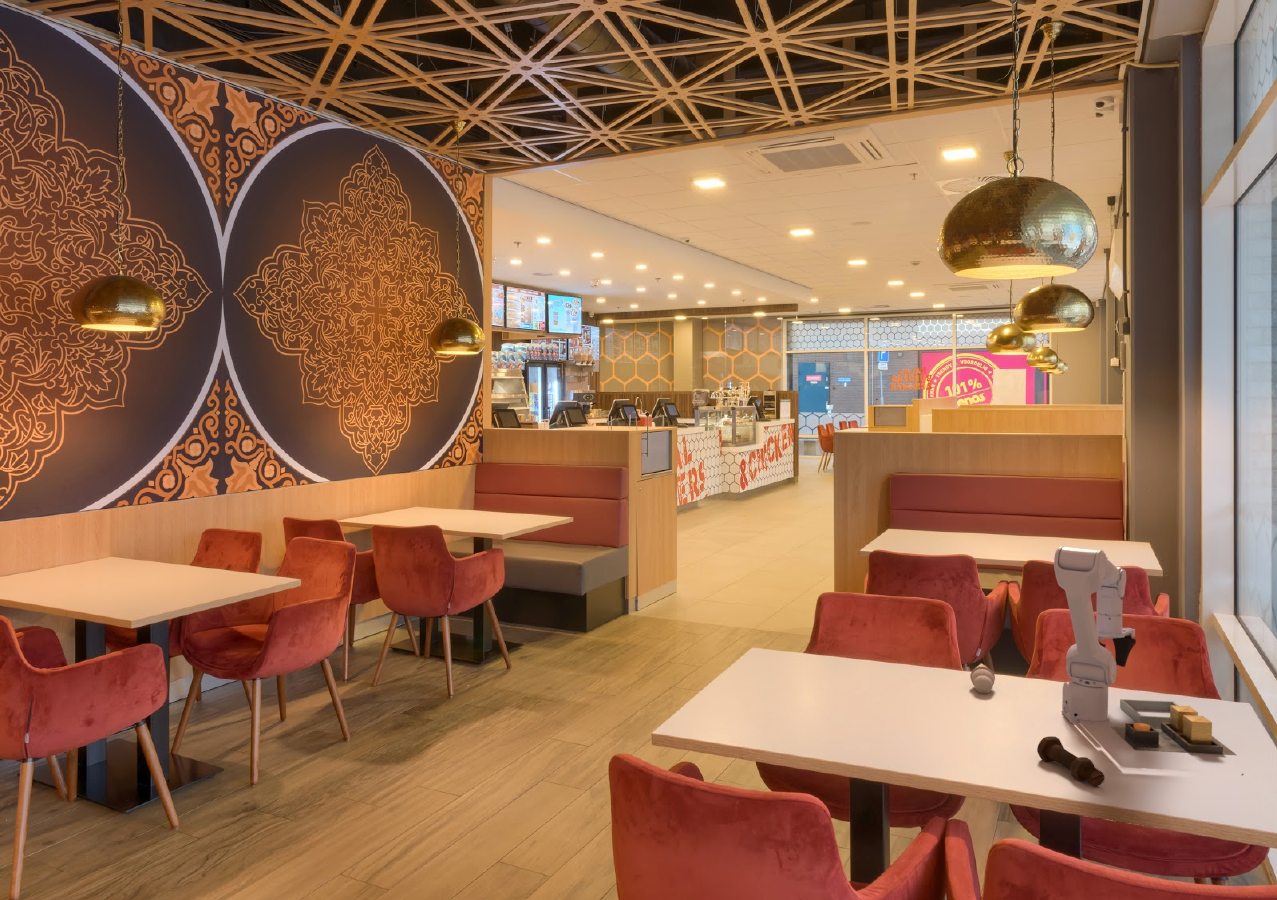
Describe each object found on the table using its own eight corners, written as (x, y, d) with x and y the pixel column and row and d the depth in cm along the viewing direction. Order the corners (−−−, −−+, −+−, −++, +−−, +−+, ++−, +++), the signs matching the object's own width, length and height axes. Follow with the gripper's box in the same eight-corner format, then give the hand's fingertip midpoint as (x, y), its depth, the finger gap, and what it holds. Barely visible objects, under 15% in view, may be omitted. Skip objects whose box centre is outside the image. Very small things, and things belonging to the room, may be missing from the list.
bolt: (1094, 798, 172) (1044, 765, 186) (1114, 783, 172) (1062, 752, 187) (1083, 774, 171) (1032, 743, 185) (1102, 760, 171) (1051, 730, 186)
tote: (1139, 728, 202) (1140, 716, 202) (1119, 711, 214) (1120, 699, 214) (1196, 731, 201) (1196, 718, 200) (1172, 713, 212) (1173, 701, 212)
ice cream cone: (982, 677, 241) (985, 703, 227) (964, 663, 242) (965, 688, 228) (998, 663, 239) (1001, 688, 225) (979, 648, 240) (982, 673, 226)
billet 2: (1191, 748, 188) (1191, 721, 188) (1182, 741, 192) (1183, 715, 192) (1211, 749, 187) (1211, 722, 187) (1202, 742, 191) (1203, 715, 191)
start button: (1136, 738, 193) (1137, 727, 193) (1131, 733, 196) (1131, 722, 196) (1152, 739, 192) (1152, 728, 192) (1146, 734, 195) (1146, 723, 195)
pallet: (1134, 754, 188) (1135, 738, 188) (1110, 730, 202) (1110, 715, 201) (1236, 759, 185) (1237, 743, 184) (1205, 734, 198) (1205, 719, 198)
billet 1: (1177, 737, 194) (1178, 711, 194) (1169, 731, 198) (1170, 705, 198) (1197, 738, 194) (1197, 712, 193) (1189, 732, 198) (1189, 706, 197)
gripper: (1098, 619, 212) (1098, 674, 213) (1145, 614, 217) (1144, 668, 217) (1076, 613, 219) (1075, 666, 220) (1122, 608, 223) (1121, 661, 224)
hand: (1108, 667), depth 219 cm, fingers open, 7 cm apart
